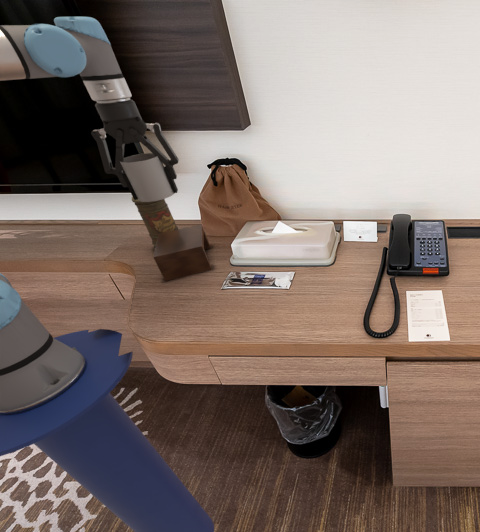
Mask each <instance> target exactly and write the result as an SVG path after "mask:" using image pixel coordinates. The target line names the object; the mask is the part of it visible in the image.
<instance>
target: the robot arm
mask: <svg viewBox="0 0 480 532" xmlns="http://www.w3.org/2000/svg"><path fill="white" fill-rule="evenodd" d="M53 22H54V25H52V24H49V23H33V24H28V25H27V24H25V25H24V24H20V25H19V24H14V25H13V24H10V25H9V24H4V25H3V24H2V25H0V82H1V81H13V80H26V79H27V80H28V79H29V80H32V79H44V78H57V77H58V78H70V77H75V76H77V75H79V76H80V78H81V80H82V82H83V85H84V86H85V88H86V90H87V92H88V94H89V96H90V98H91V100H92V101H94V102H96V103H95V104H94V107H95V109H96V111H97V114H98V115H99V116H100V119H101V121H102V123H103V128H100V129H99V128H98V129H93V130H92V131H91V132H90V135H91V136H92V138H93V139H94V141H95V142H96V144H97V148H98V151H99V156H100V159H101V162H102V167H103V169H104V172H105V174H106V175H115V176H117V178H118V180H119V182H120V184H121V186H122V187H123V188H128V190H129V192H130V194H131V197H133V198H134V200H138V198H137V196H136V194H135V192H134V189H133V187H132V185H131V183H130V181H129V179H128V177H127V175H126V173H125V171H124V169H123V167H122V165H121V163H120V161H121V162H123V161H124V158H125V146H126V145H129V144H131V143H134V144H138V143H139V144H142V145H143V146H144V147H145V148H146V149H148V150H149V151H150V153H153V154H154V155H155V156H156V157H157V156H158V158H159V160H160V161H161V162H162V163H163V165H164V171H165V173H166V175H167V178H168V180H169V182H170V185H171V187H172V189H173V192H174V193H175V194H177V193H178V191H179V189H178V187H177V184H176V182H175V180H177V177H178V176H177V173H176V172H177V171H176V170H175V167H174V166H175V165H177V164H178V163H179V161H180V160H179V157H178V156H177V154H176V152H175V151H174V150H173V148H172V146H171V145H170V143H169V142H168V140H167V139H166V137H165V135H164V134H163V132H162V128H161V124H160V123H159V122H155V123H147V122H145V121H144V119H143V118H142V116H141V114H140V111H139V109H138V107H137V105H136V102H135V101H134V100H133V99H131V98H132V93H131V90H130V88H129V85H128V83H127V81H126V79H125V77H124V75H123V73H122V70H121V68H120V65H119V62H118V60H117V57H116V55H115V53H114V51H113V48H112V44H111V42H110V40H109V39H108V36H107V34H106V32H105V29H103V27H102V24H101V23H100V22H99V20H97V19H96V18H94V17H91V16H57V17H55V18H54V19H53ZM147 129H148V130H150V133H152V134H154V136H155V137H156V139H157V140H158V142H159V144H160V145H161V146H162V149H164V151H165V153H166V154H167V155H165V154H164V153H163V152H162V151H161V150H160V149H159V148H158V147H157V145H155V144H154V143H153V142H152V141H151V140H150V139H149V137H148V136H146V133H147ZM106 134H108V135H109V137H111V138H113V139H115V161H114V162H115V166H113V163H112V159H111V155H110V152H109V148H108V144H107V141H106V138H107V135H106ZM167 156H168V157H169V158H170V159H169V158H168V157H167ZM54 338H55V337H53V335H52V334H51V333H50V332H49V330H48V329H47V328H46V327H45V325H44V324H42V322H41V321H40V320H39V318H38V317H37V316H36V315H35V313H34V312H33V311H32V310H31V309H30V308H29V306H28V305H27V304H26V303H25V302H24V300H23V299H22V297H21V295H20V294H19V292H18V291H17V289H15V288H14V287H13V285H12V284H11V282H10V280H9V279H8V278H7V277H6V276H5V275H4V274H3V273H1V272H0V415H14V414H19V413H23V412H27V411H30V410H32V409H35V408H37V407H40V406H42V405H44V404H46V403H48V402H50V401H51V400H53V399H55V398H56V397H58V396H60V395H61V394H63V393H64V392H65V391H67V390H68V389H69V388H70V387H71V386H73V385H74V384H75V383H76V382H77V381H78V380H79V378H80V377H81V376H82V375H83V373H84V371H85V369H86V366H87V362H86V359H85V358H84V357H83V355H82V354H81V353H79V352H78V351H77V349H76V348H75V347H74V348H71V347H69V346H67V345H65V344H64V343H62V342H60V341H58V340H56V339H54Z"/></svg>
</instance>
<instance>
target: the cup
mask: <svg viewBox="0 0 480 532" xmlns="http://www.w3.org/2000/svg"><path fill="white" fill-rule="evenodd" d="M120 163H121V165H122V167H123V172H125V173H126V175H127V177H128V179H129V181H130V183H131V185H132V187H133V189H134V192H135V194H136V196H137V198H138V200H139V201H141V202H152V201H158V200H162V199H167V198H170V197H172V196H174V195H175V194H176V193H174V192H173V189H172V187H171V185H170V182H169V180H168V178H167V175H166V173H165V171H164V167H165V165H164V164H163V163H162V162H161V161H160V160H159V158H158V156H157V157H156V156H155V155H154V154H153V153H152V152H147V153H139V154H133V155H130V156H126V157H124V161H123V162H121V161H120Z"/></svg>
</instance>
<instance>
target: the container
mask: <svg viewBox="0 0 480 532" xmlns="http://www.w3.org/2000/svg"><path fill="white" fill-rule="evenodd" d="M165 199H166V198H165ZM165 199H162V200H158V201H152V202H141V201H139V200H134V198H133V196H131V201H132V203H134V206H135V207H136V208H137V212H138V213H139V216H140V217H141V220H142V221H143V223H144V226H145V227H146V230H147V232H148V236H149V238H150V239H151V245H152V246H153V250H155V247H156V243H157V239H158V234H159V233H162V232H167V231H172V230H177V229H179V227H178V226H177V224H176V222H175V219H174V216H173V215H172V212H171V210H170V208H169V206H168V205H169V204H168V203H167V202H166V200H165Z"/></svg>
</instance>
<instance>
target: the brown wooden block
mask: <svg viewBox="0 0 480 532" xmlns="http://www.w3.org/2000/svg"><path fill="white" fill-rule="evenodd" d="M209 241H210V240H209V239H208V236H207V234H206V231H205V229H204V226H203V224H195V225H192V226H187V227H182V228H178V229H177V230H172V231H167V232H162V233H159V234H158V239H157V243H156V247H155V249H154V252H153V256H152V259H153V260H154V262H155V264H156V265H157V268H158V269H159V271H160V273H161V275H162V277H163V279H164V281H165V282H167V281H171V280H175V279H179V278H184V277H187V276H191V275H195V274H199V273H203V272H207V271H210V270H211V271H212V265H211V263H210V260H209V258H208V255H207V253H206V250H208V249H209V250H210V249H211V244H210V242H209Z"/></svg>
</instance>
